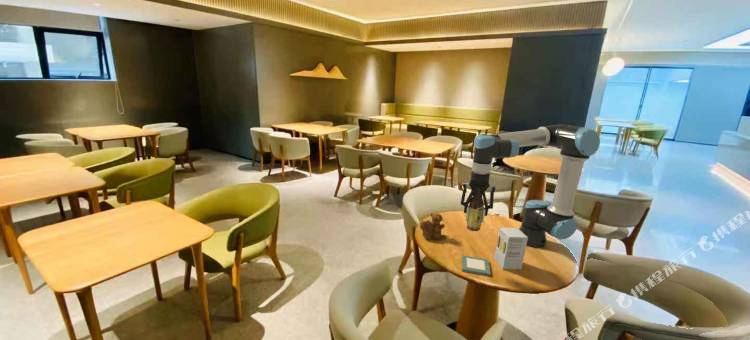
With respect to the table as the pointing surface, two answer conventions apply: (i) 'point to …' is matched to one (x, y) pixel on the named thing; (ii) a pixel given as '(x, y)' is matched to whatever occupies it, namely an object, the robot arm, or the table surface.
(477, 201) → the sauce bottle
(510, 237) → the supplement box
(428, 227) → the stuffed squirrel
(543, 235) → the robot arm
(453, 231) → the table surface
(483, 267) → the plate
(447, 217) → the table surface
